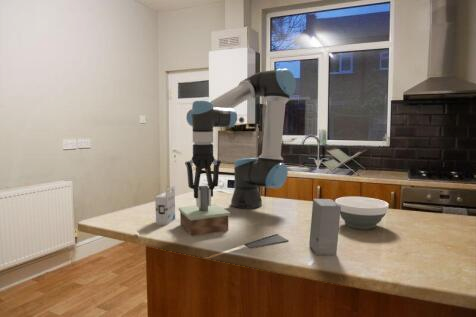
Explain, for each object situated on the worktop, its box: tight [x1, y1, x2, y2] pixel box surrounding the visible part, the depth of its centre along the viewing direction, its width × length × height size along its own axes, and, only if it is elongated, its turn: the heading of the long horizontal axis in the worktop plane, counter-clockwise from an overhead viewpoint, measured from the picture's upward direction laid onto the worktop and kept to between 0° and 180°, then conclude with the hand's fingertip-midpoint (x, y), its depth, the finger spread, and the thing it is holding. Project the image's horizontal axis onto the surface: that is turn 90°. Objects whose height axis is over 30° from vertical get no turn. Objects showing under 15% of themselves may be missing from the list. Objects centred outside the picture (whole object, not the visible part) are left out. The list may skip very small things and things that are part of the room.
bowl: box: [334, 196, 389, 231], centre depth 130 cm, size 20×20×10 cm
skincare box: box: [308, 198, 341, 256], centre depth 104 cm, size 8×7×16 cm
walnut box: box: [179, 211, 229, 237], centre depth 125 cm, size 14×14×6 cm
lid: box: [178, 185, 231, 220], centre depth 124 cm, size 15×15×10 cm
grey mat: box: [244, 233, 289, 249], centre depth 116 cm, size 15×15×1 cm
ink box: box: [154, 185, 176, 226], centre depth 133 cm, size 9×5×15 cm, turn 168°
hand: (203, 205), depth 125 cm, fingers closed on lid, 3 cm apart
